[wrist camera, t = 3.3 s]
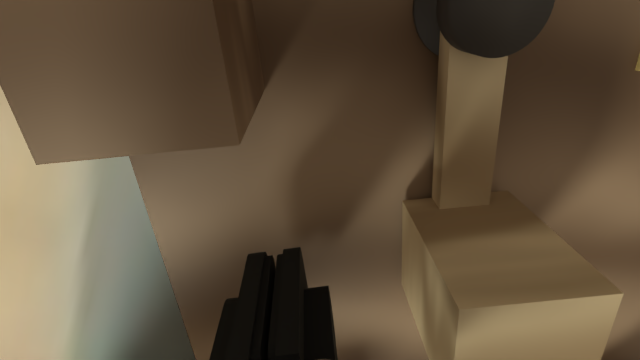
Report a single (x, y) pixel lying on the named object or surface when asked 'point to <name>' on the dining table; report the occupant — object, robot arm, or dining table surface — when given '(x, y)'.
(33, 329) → the dining table surface
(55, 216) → the dining table surface
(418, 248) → the swing leg
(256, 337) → the robot arm
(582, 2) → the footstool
